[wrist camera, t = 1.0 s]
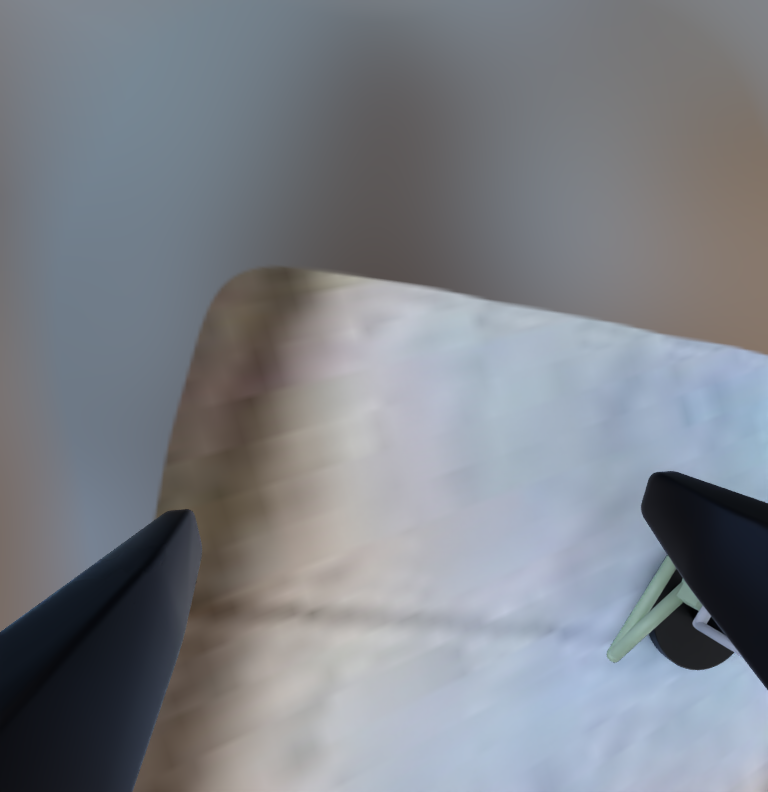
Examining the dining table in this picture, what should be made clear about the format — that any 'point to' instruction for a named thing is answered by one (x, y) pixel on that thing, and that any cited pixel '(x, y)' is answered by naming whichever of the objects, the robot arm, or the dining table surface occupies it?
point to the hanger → (661, 614)
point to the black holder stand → (686, 636)
